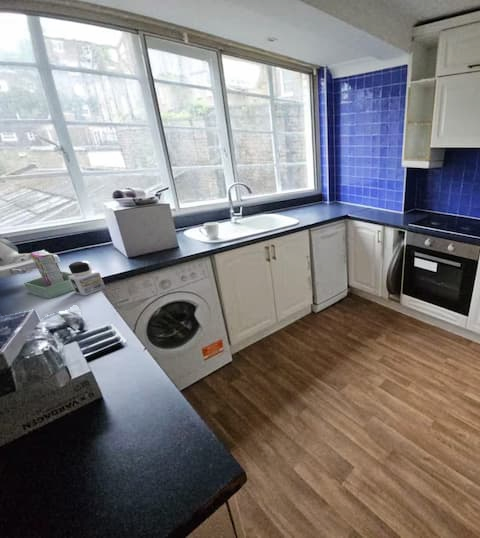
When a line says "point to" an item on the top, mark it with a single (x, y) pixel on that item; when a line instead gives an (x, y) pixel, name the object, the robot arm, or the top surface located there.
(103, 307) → the top surface
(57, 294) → the tray
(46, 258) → the candy bar box
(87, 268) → the container
